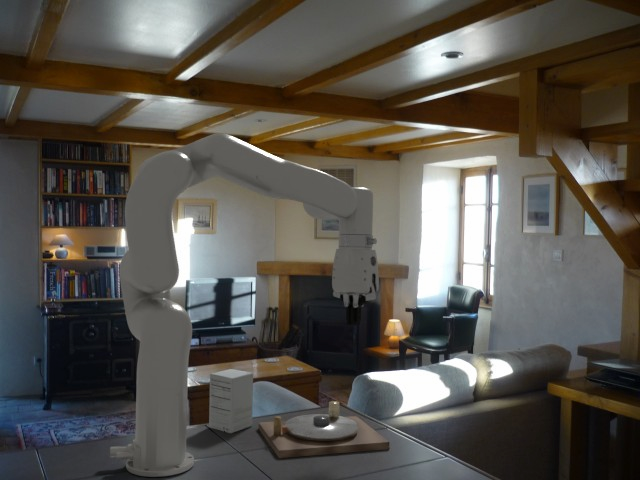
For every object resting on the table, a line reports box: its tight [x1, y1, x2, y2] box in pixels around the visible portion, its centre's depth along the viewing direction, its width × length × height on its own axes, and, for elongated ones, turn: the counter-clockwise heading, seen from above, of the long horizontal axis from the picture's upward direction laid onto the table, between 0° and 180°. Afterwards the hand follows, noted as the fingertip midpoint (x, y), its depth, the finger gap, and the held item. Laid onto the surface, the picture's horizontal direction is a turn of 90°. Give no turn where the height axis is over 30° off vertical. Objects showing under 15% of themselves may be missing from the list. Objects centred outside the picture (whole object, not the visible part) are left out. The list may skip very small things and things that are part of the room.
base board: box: [258, 415, 390, 459], centre depth 140 cm, size 24×20×5 cm
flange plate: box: [281, 400, 358, 441], centre depth 140 cm, size 16×17×5 cm
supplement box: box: [208, 368, 254, 434], centre depth 148 cm, size 7×7×13 cm
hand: (353, 324), depth 143 cm, fingers closed
